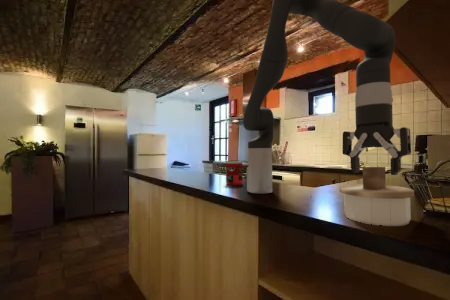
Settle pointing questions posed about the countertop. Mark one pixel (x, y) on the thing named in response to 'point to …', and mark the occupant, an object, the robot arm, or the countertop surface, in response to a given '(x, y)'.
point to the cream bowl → (377, 210)
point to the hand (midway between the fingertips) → (374, 173)
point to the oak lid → (376, 186)
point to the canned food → (234, 173)
